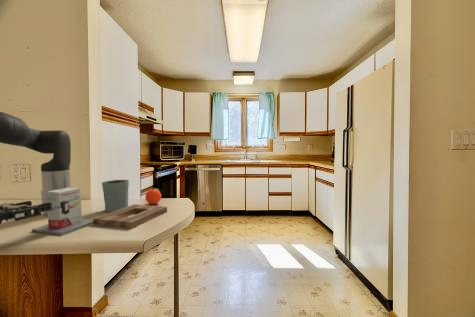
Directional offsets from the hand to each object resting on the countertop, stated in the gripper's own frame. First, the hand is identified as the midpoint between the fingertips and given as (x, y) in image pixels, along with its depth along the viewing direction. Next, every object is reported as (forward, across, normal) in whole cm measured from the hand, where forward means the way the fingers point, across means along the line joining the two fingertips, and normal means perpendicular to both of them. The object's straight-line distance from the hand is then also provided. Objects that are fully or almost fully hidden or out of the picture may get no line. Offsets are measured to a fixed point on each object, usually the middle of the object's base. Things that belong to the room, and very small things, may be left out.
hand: (40, 204), depth 74 cm
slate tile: (+8, 0, +9) cm, 12 cm away
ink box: (+8, 0, +9) cm, 11 cm away
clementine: (+42, -10, +9) cm, 44 cm away
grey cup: (+30, 0, +9) cm, 31 cm away
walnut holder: (+22, -15, +9) cm, 28 cm away
